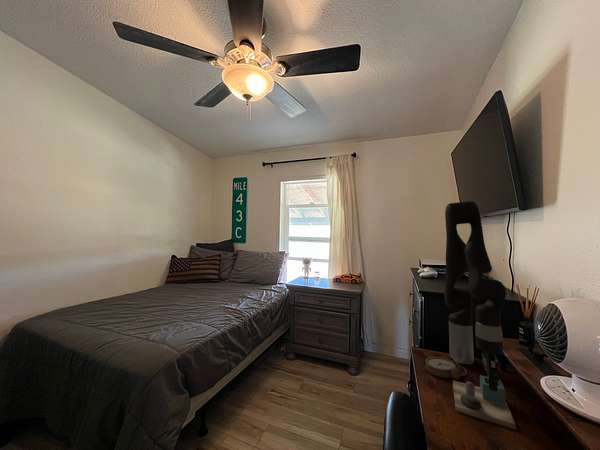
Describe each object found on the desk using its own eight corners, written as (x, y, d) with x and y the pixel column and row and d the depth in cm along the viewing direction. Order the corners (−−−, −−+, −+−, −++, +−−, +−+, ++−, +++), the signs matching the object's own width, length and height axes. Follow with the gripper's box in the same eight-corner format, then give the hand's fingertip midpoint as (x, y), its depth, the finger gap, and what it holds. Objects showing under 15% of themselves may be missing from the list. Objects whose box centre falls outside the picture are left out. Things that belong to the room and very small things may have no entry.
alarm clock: (426, 354, 109) (465, 358, 100) (429, 365, 108) (468, 370, 99) (422, 365, 100) (464, 370, 91) (425, 377, 99) (467, 384, 90)
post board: (452, 384, 91) (452, 361, 91) (502, 397, 83) (501, 373, 84) (455, 410, 77) (454, 384, 78) (515, 429, 70) (514, 400, 70)
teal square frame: (480, 388, 86) (479, 375, 86) (501, 394, 83) (500, 380, 83) (483, 398, 81) (482, 383, 81) (505, 405, 78) (505, 389, 78)
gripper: (473, 327, 91) (475, 370, 90) (478, 341, 79) (480, 391, 78) (498, 331, 87) (500, 377, 86) (507, 346, 75) (510, 399, 74)
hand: (490, 383), depth 82 cm, fingers open, 8 cm apart
